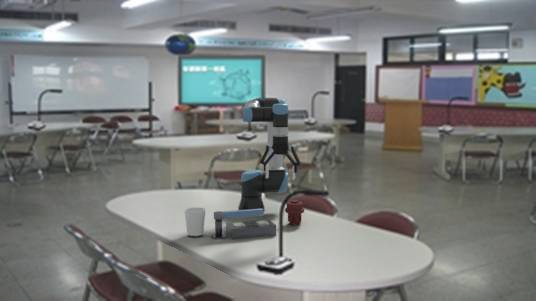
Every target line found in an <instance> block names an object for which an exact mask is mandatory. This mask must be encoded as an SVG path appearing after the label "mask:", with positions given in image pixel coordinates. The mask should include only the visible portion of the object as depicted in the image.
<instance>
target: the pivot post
mask: <svg viewBox="0 0 536 301" xmlns="http://www.w3.org/2000/svg"><path fill="white" fill-rule="evenodd" d="M214 224H215V225H214V226H215V228H214V231H215V232H214V233H213V234H210V236H211V238H212V239H213V240H220V239H221V240H224V239H227V235H226V233H225V234H224V232H223V219H221V220H215V219H214Z"/></svg>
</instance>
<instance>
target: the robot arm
mask: <svg viewBox="0 0 536 301" xmlns="http://www.w3.org/2000/svg"><path fill="white" fill-rule="evenodd" d="M241 114H242V122H243V123H265V124H266V125H267V127H266V128H267V144H266V147H265V151H264V153H263V155H262V157H261V159H260V161H259V163H260V164H262V165H263V171H262V170H261V169H251V170H247V171H244V172H242V174H241V177H240V184H241V185H240V194H241V196H240V201H239V203H238V206H237V209H238V210H249V209H263V213H264V212H265V210H266V209H265V208H266V207H265V204H264V202H263V198H262V197H263V196H262V194H283V193H286V191H287V188H288V183H289V173H288V172H286V168H285V167H284V165H283V164H284V163H283V162H284V161H283V160H284V159H283V157H284V155H285V157H286V158H288V160H289V161H290V162H291V164H292V165H293V166H292V168H291V169H292V172H291V173H292V177H291V179H292V181H294V180H296V173H298V166H300V165H302V161H301V160H300V158H299V156H298V154H297V152H296V149H295V148H296V147H295V145H292V146H291V145H289V136H288V135H289V105H288V103H287V102H286V100H285V99H284V98H279V97H276V98H275V97H272V98H271V97H269V98H261V97H260V98H254V99H251V100H248V101H247V102H246V103H245V104H244V105H243V107H242V113H241ZM289 150H290V151H291V153H292V155H291V154H290V152H289ZM292 156H293V157H292Z"/></svg>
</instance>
